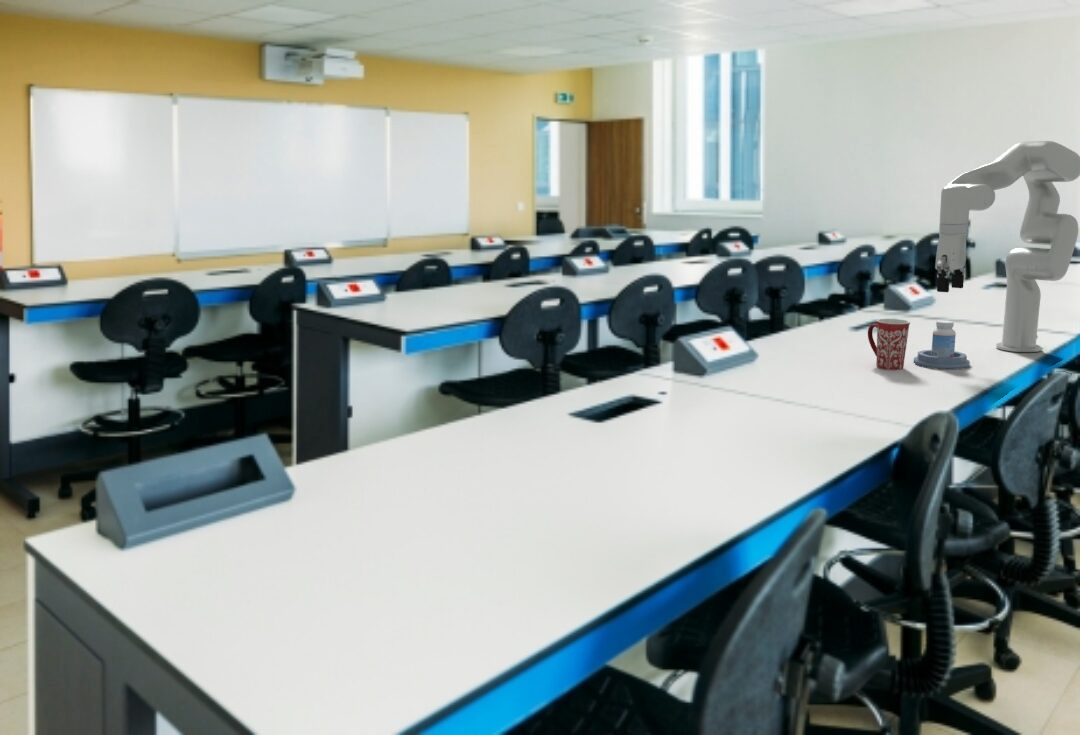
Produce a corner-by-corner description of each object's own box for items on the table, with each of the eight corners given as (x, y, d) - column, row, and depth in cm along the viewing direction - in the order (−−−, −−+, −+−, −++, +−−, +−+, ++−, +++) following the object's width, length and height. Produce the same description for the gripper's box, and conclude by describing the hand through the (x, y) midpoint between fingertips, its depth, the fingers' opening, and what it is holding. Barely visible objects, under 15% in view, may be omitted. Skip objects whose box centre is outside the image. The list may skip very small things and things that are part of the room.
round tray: (927, 357, 284) (928, 347, 283) (978, 363, 273) (979, 353, 272) (904, 364, 274) (904, 354, 273) (956, 371, 263) (956, 361, 262)
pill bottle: (955, 362, 270) (958, 323, 267) (933, 361, 271) (935, 322, 269) (951, 358, 276) (954, 320, 273) (929, 357, 277) (931, 319, 275)
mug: (914, 368, 268) (917, 321, 265) (891, 372, 264) (894, 324, 261) (879, 361, 279) (882, 316, 276) (857, 364, 274) (859, 318, 272)
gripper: (953, 227, 276) (949, 285, 280) (927, 232, 265) (924, 292, 268) (979, 228, 271) (975, 287, 275) (953, 232, 259) (950, 294, 263)
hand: (950, 289), depth 272 cm, fingers open, 9 cm apart
